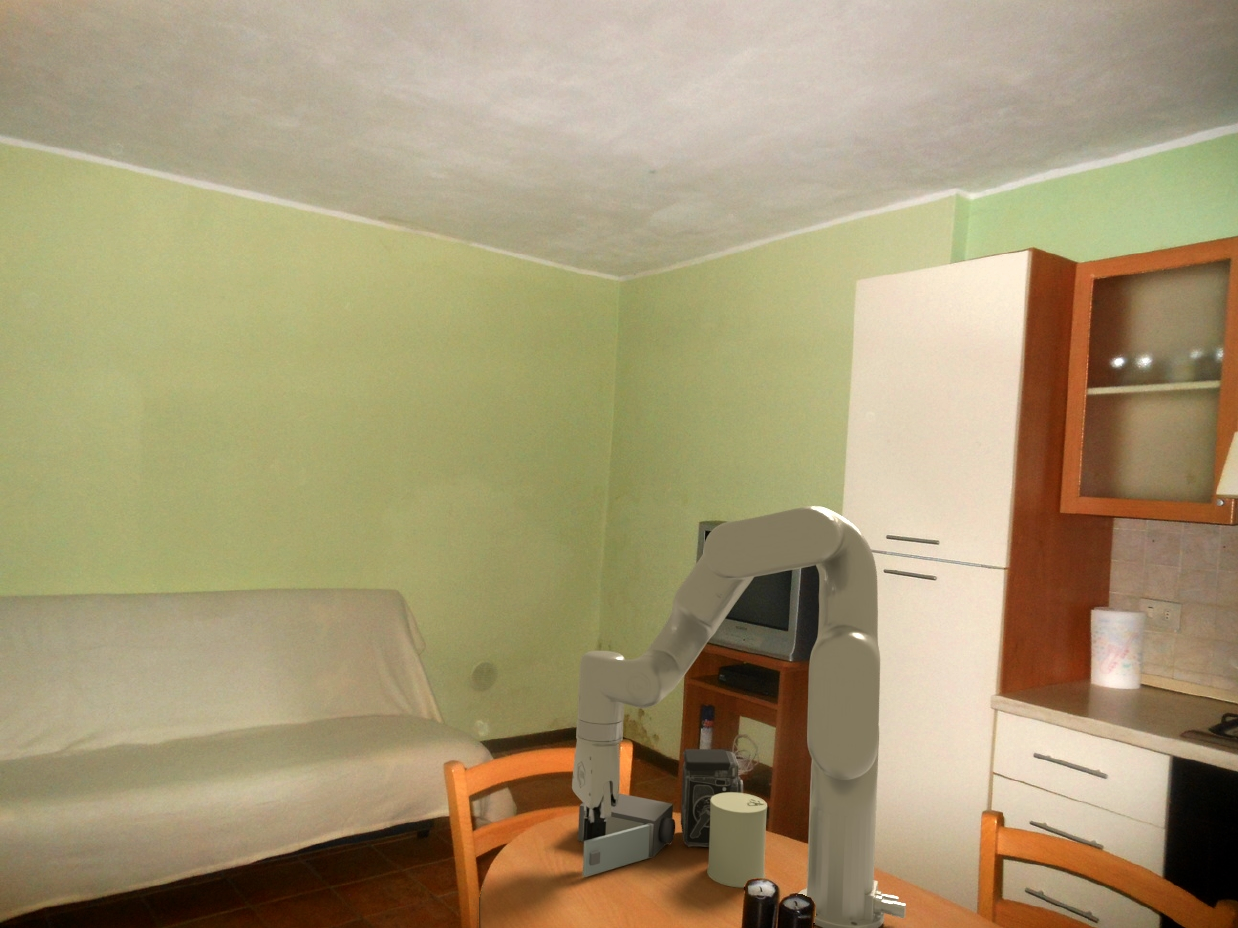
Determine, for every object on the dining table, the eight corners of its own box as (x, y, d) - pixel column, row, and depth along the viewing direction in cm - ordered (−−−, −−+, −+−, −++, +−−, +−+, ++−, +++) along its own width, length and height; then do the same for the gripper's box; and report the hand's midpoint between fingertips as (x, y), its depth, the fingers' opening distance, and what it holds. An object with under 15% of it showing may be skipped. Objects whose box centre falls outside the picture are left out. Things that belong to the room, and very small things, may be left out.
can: (769, 888, 131) (772, 810, 132) (710, 886, 131) (713, 808, 132) (759, 863, 141) (762, 790, 141) (704, 861, 141) (706, 787, 141)
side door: (649, 854, 141) (650, 822, 142) (655, 857, 140) (656, 825, 140) (581, 874, 133) (583, 840, 133) (587, 878, 132) (588, 843, 132)
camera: (745, 854, 144) (748, 765, 144) (683, 851, 144) (686, 762, 145) (737, 830, 154) (740, 747, 155) (679, 827, 154) (683, 744, 155)
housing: (680, 840, 149) (681, 800, 149) (662, 859, 140) (663, 817, 141) (599, 822, 155) (601, 785, 155) (577, 840, 146) (579, 800, 147)
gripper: (563, 718, 143) (557, 828, 142) (593, 744, 129) (587, 866, 128) (605, 716, 145) (599, 824, 145) (638, 741, 131) (633, 861, 131)
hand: (593, 844), depth 136 cm, fingers closed
